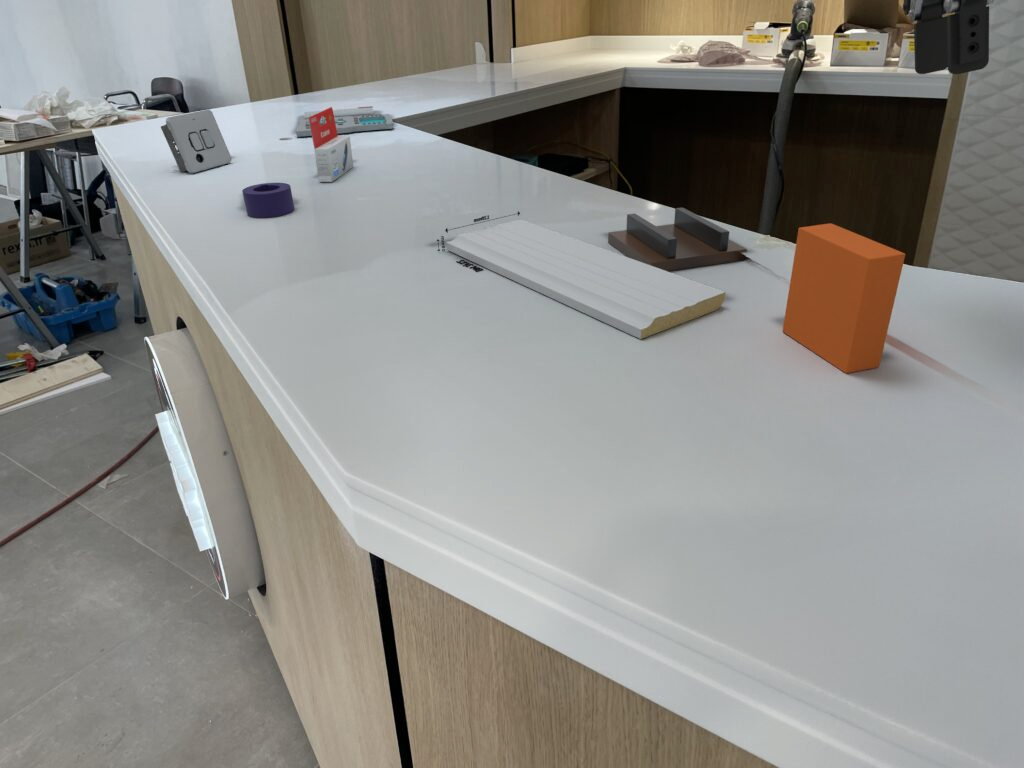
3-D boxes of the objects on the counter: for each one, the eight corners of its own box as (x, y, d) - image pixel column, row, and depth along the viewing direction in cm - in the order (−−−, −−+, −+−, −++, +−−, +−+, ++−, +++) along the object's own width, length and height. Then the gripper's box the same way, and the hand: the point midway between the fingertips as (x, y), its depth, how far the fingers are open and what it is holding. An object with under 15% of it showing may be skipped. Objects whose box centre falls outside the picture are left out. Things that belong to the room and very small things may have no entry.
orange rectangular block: (812, 326, 62) (831, 222, 58) (879, 367, 55) (906, 253, 51) (781, 331, 61) (798, 227, 57) (845, 373, 55) (870, 259, 50)
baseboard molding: (628, 345, 60) (723, 307, 66) (629, 312, 59) (727, 277, 65) (435, 253, 83) (520, 231, 89) (433, 227, 81) (519, 207, 87)
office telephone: (299, 109, 168) (386, 103, 172) (301, 121, 169) (387, 115, 173) (294, 124, 148) (393, 117, 151) (296, 137, 149) (394, 130, 153)
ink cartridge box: (354, 166, 124) (346, 105, 119) (333, 182, 114) (322, 117, 110) (340, 167, 124) (331, 106, 119) (317, 183, 115) (307, 117, 110)
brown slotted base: (694, 231, 86) (696, 204, 85) (745, 260, 77) (749, 230, 75) (607, 242, 84) (608, 215, 82) (650, 274, 74) (652, 243, 73)
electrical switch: (192, 174, 123) (174, 116, 119) (171, 175, 125) (153, 118, 121) (233, 163, 130) (218, 108, 126) (213, 164, 133) (198, 110, 128)
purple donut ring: (298, 213, 99) (294, 189, 98) (250, 220, 97) (245, 196, 96) (282, 194, 109) (278, 172, 108) (238, 200, 107) (233, 178, 105)
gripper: (1063, -264, 39) (1052, 57, 45) (975, -182, 52) (975, 60, 57) (909, -215, 42) (916, 86, 47) (861, -148, 54) (871, 82, 60)
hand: (948, 71), depth 52 cm, fingers open, 8 cm apart
